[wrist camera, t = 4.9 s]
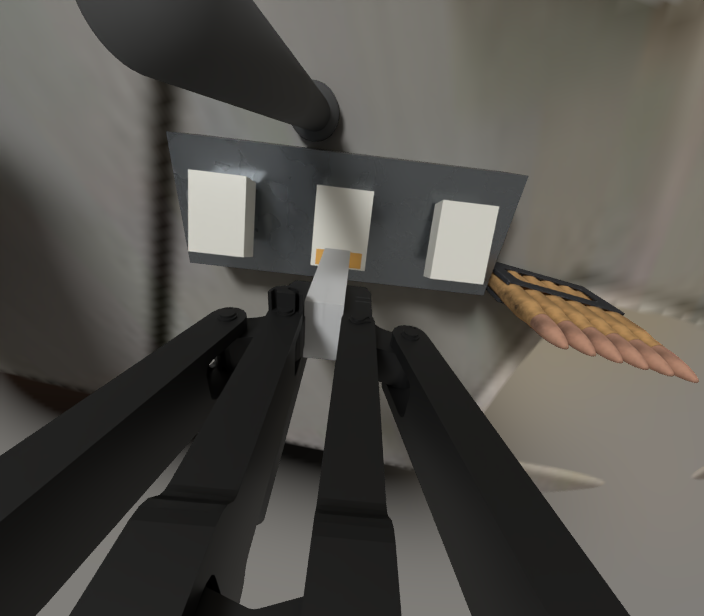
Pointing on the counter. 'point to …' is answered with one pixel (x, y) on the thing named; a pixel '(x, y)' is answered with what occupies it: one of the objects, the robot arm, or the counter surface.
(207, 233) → the paddle left
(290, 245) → the breaker panel
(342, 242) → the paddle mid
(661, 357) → the ammunition clip
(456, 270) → the paddle right
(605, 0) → the counter surface
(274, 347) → the robot arm
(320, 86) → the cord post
